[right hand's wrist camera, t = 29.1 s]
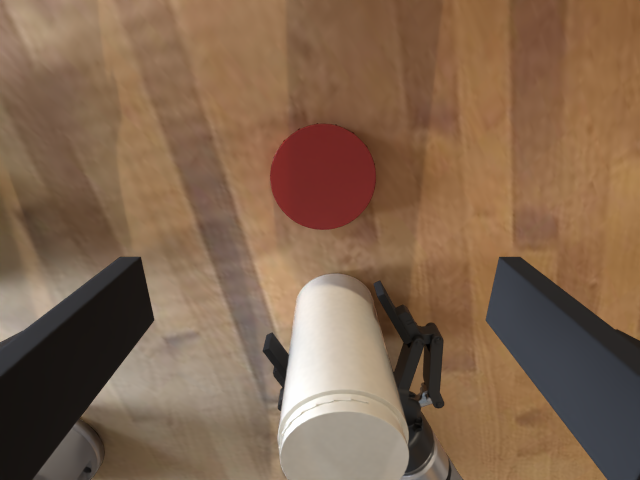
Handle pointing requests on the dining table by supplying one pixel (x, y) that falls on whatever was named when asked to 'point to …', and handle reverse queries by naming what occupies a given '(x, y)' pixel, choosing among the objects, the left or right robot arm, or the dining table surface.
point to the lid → (323, 176)
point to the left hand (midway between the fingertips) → (321, 315)
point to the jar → (340, 389)
